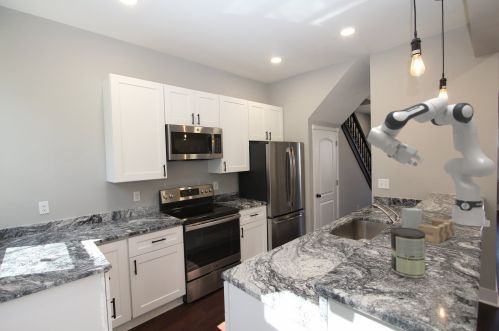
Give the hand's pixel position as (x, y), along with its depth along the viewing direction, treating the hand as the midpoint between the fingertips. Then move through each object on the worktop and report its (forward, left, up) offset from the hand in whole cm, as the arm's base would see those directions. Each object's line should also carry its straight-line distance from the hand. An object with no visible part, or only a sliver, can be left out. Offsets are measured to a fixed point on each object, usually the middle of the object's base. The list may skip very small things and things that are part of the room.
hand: (419, 163), depth 131 cm
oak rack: (+1, +8, -37) cm, 37 cm away
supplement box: (+1, -3, -37) cm, 37 cm away
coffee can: (+53, +16, -37) cm, 66 cm away
